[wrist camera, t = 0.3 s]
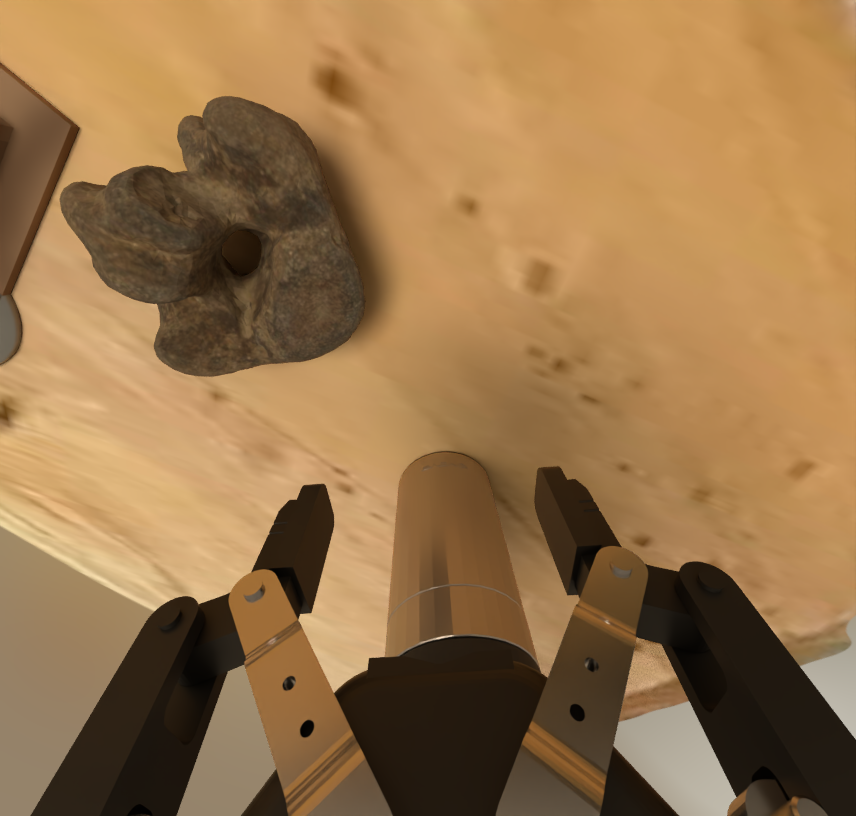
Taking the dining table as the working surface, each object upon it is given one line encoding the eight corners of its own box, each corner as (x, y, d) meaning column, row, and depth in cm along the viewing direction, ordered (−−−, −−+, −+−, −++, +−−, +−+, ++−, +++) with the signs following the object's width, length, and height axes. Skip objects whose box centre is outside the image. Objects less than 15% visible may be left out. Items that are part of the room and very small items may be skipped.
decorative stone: (313, 426, 26) (20, 363, 18) (303, 348, 34) (94, 278, 26) (429, 217, 20) (43, -47, 11) (383, 179, 27) (136, 6, 19)
